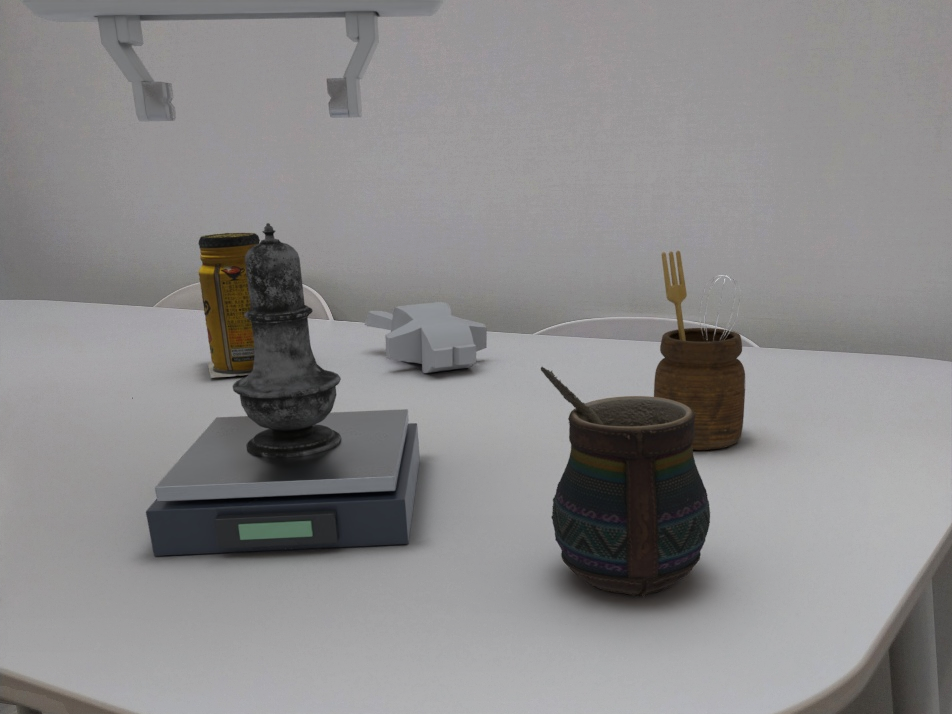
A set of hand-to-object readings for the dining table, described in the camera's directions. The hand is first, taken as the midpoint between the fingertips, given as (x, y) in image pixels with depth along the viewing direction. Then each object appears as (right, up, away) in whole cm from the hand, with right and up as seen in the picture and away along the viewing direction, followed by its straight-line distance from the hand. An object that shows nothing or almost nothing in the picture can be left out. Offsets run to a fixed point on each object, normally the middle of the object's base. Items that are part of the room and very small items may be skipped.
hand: (252, 119), depth 49 cm
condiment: (-11, -6, +42) cm, 43 cm away
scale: (+1, -19, +7) cm, 21 cm away
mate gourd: (+18, -23, -3) cm, 30 cm away
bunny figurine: (+5, -6, +42) cm, 43 cm away
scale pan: (+1, -17, +6) cm, 18 cm away
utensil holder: (+25, -15, +17) cm, 34 cm away
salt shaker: (+1, -16, +6) cm, 17 cm away
